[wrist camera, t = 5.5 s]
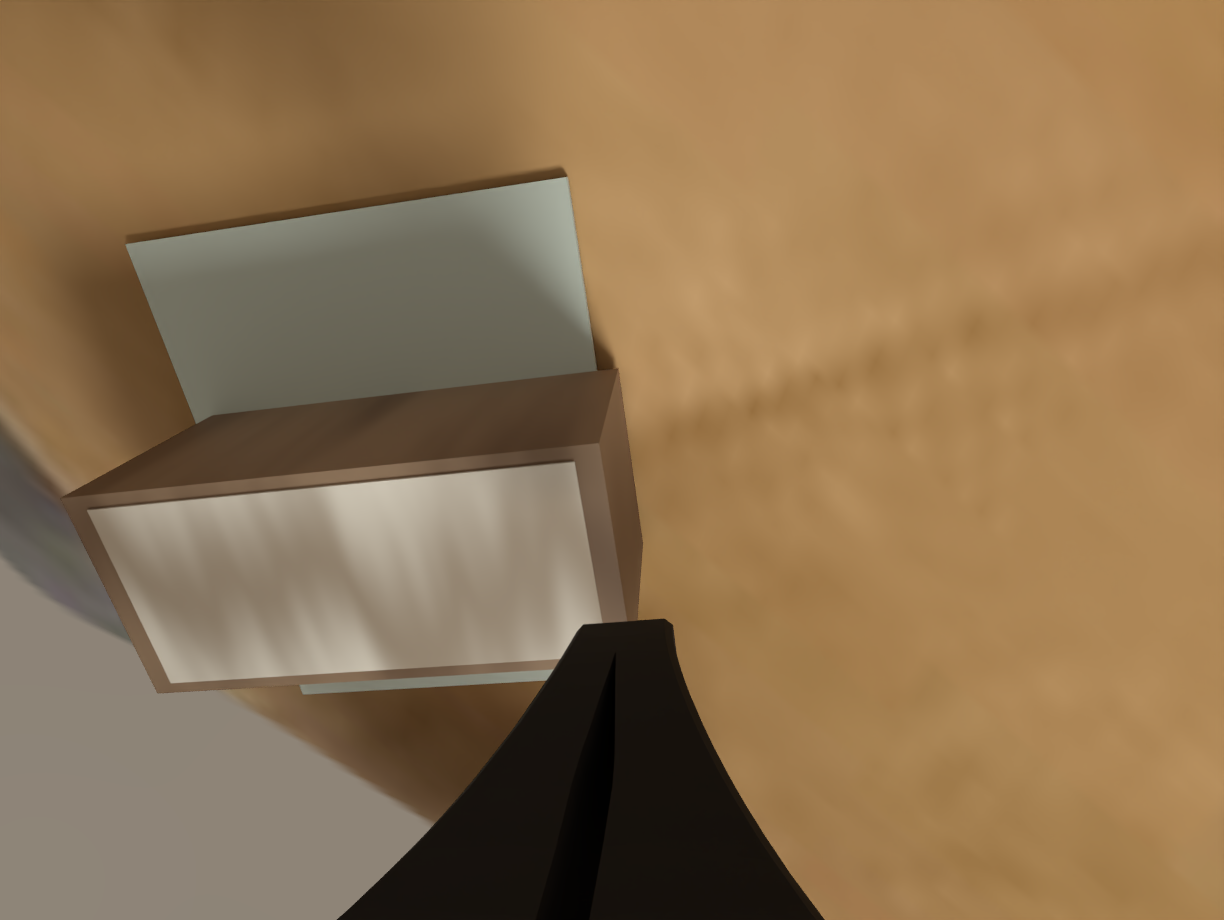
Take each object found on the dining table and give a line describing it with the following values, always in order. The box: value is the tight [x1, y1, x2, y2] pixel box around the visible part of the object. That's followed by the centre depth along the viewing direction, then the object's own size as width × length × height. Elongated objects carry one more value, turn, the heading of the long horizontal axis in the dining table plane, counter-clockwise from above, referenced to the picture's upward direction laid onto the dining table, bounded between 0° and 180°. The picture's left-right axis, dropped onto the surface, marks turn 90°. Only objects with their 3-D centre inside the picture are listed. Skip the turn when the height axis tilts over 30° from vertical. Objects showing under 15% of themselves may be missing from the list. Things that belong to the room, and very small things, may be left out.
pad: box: [125, 177, 597, 695], centre depth 19 cm, size 14×11×1 cm
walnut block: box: [60, 368, 643, 693], centre depth 16 cm, size 5×5×11 cm
